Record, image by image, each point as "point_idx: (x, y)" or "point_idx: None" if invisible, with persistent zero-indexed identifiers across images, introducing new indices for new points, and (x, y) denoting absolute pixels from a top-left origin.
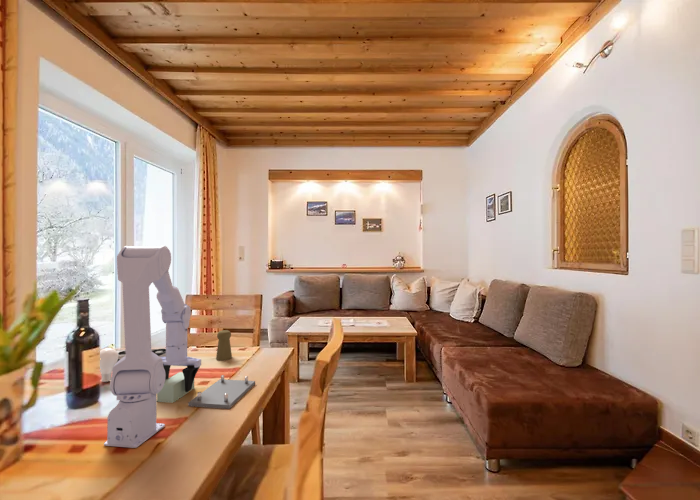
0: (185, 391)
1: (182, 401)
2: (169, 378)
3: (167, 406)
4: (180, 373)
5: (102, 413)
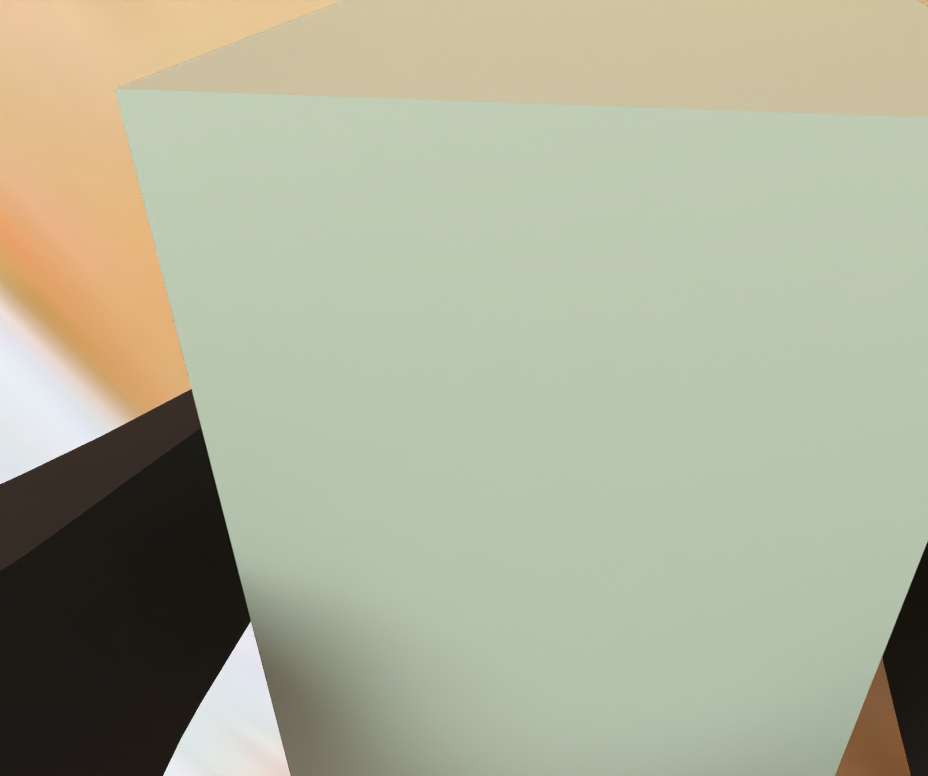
0: None
1: None
2: (301, 677)
3: None
4: (304, 268)
5: None
